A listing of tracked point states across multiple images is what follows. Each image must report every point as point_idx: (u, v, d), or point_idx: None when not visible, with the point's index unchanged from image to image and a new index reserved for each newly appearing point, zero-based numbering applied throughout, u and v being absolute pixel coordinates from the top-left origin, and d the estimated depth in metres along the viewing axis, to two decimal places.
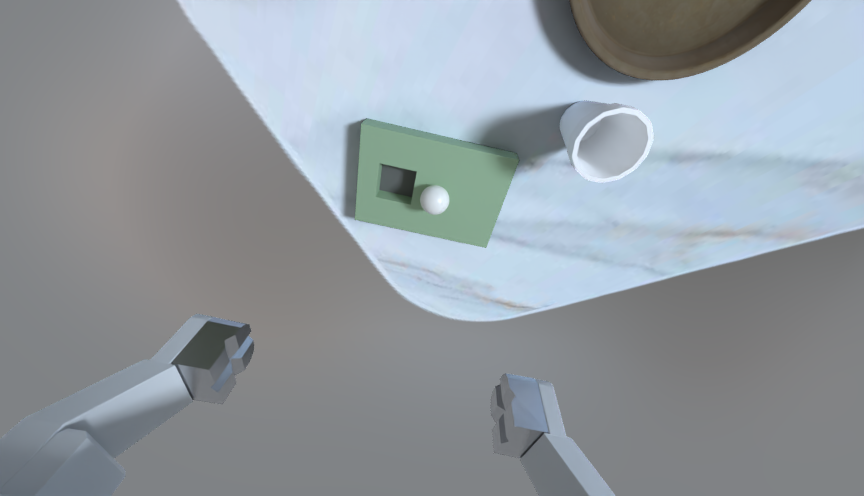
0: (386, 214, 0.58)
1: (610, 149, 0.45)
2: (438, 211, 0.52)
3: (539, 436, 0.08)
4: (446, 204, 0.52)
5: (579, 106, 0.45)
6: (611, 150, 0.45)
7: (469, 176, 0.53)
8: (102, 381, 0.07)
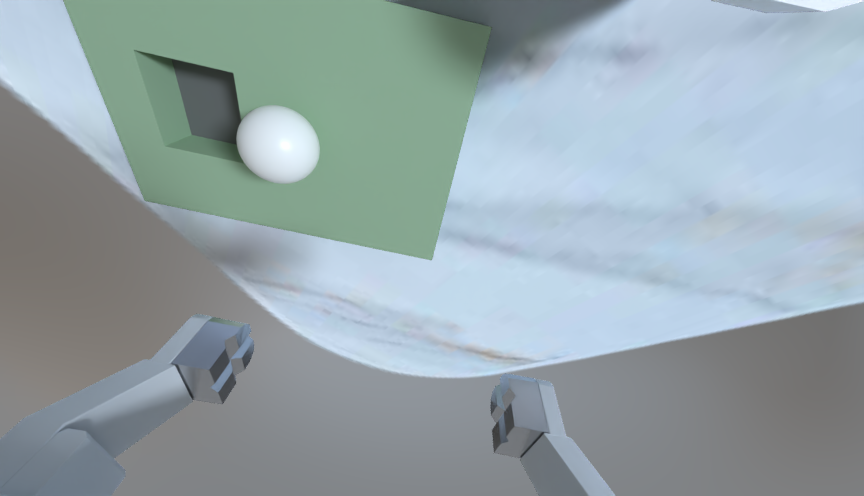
0: (205, 189, 0.26)
1: None
2: (281, 173, 0.20)
3: (539, 436, 0.08)
4: (301, 154, 0.20)
5: None
6: None
7: (366, 83, 0.20)
8: (102, 381, 0.07)
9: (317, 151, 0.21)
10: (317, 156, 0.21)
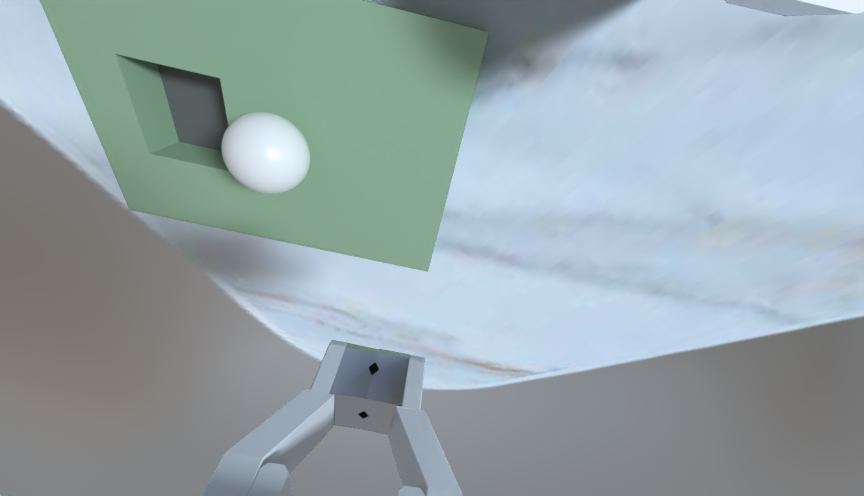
0: (193, 198, 0.25)
1: None
2: (268, 183, 0.19)
3: (394, 409, 0.08)
4: (289, 163, 0.19)
5: None
6: None
7: (358, 89, 0.20)
8: (277, 412, 0.07)
9: (307, 160, 0.20)
10: (307, 165, 0.20)
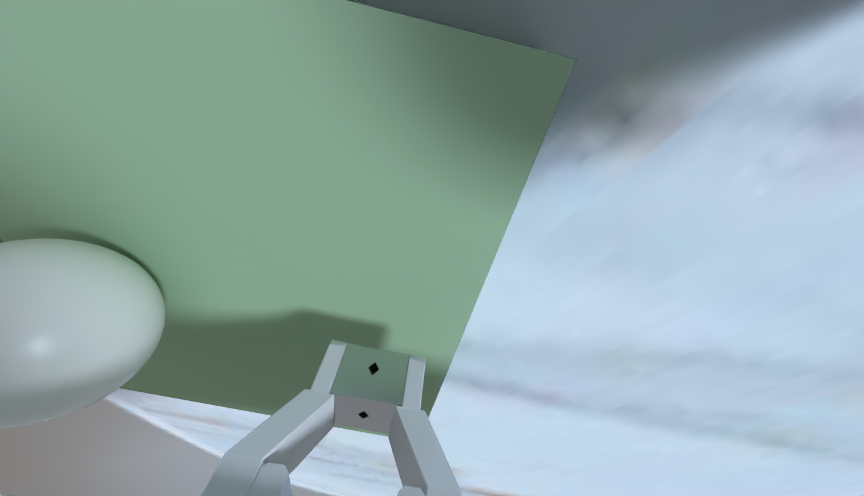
0: None
1: None
2: (15, 425, 0.08)
3: (394, 409, 0.08)
4: (66, 378, 0.08)
5: None
6: None
7: (251, 184, 0.08)
8: (277, 412, 0.07)
9: (139, 338, 0.09)
10: (143, 345, 0.09)
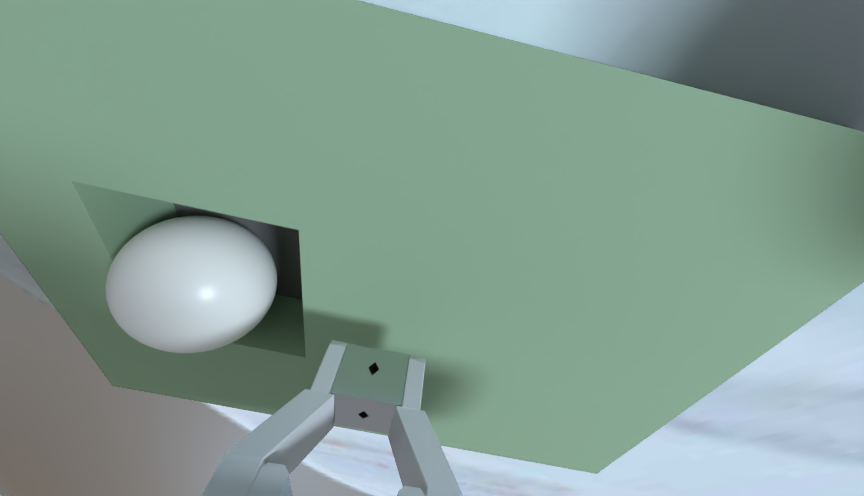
0: (221, 380, 0.15)
1: None
2: None
3: (394, 410, 0.08)
4: None
5: None
6: None
7: (603, 260, 0.09)
8: (277, 412, 0.07)
9: None
10: None
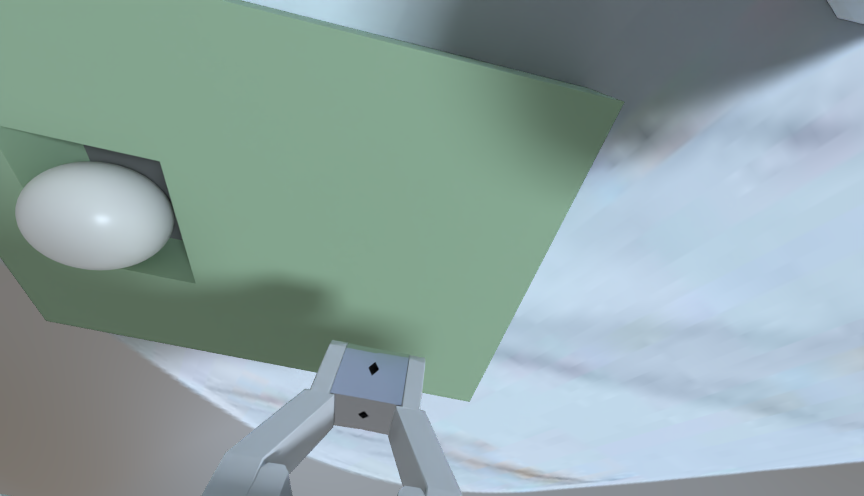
0: (134, 311, 0.17)
1: None
2: None
3: (394, 409, 0.08)
4: None
5: None
6: None
7: (386, 182, 0.12)
8: (277, 412, 0.07)
9: None
10: None
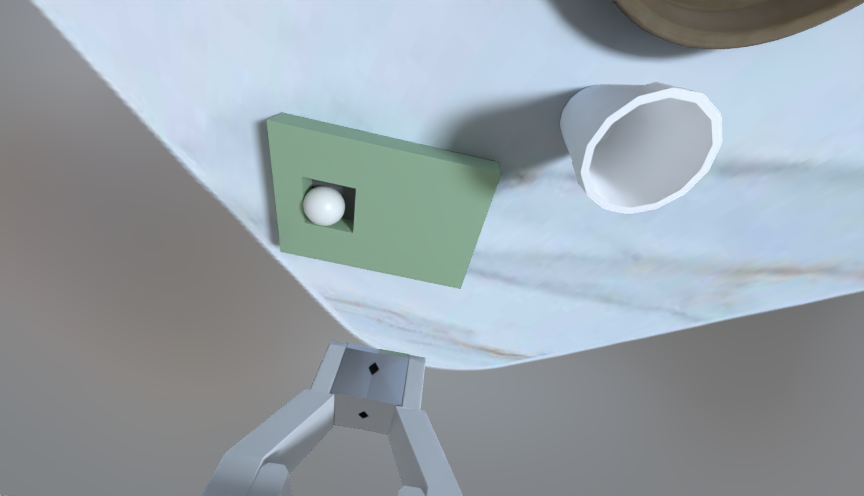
0: (322, 246, 0.42)
1: (638, 158, 0.29)
2: None
3: (394, 410, 0.08)
4: None
5: (591, 92, 0.29)
6: (641, 160, 0.29)
7: (430, 195, 0.37)
8: (277, 412, 0.07)
9: None
10: None
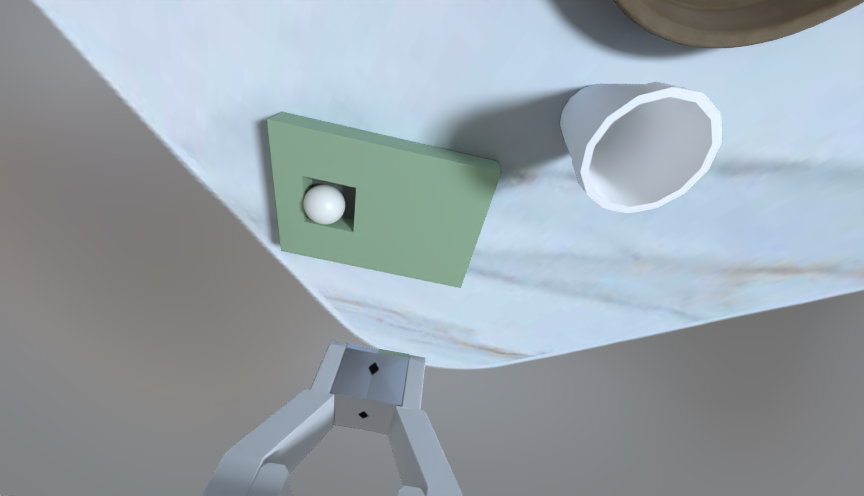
0: (322, 245, 0.43)
1: (637, 157, 0.29)
2: None
3: (394, 410, 0.08)
4: None
5: (591, 91, 0.29)
6: (641, 159, 0.29)
7: (431, 194, 0.37)
8: (277, 412, 0.07)
9: None
10: None
